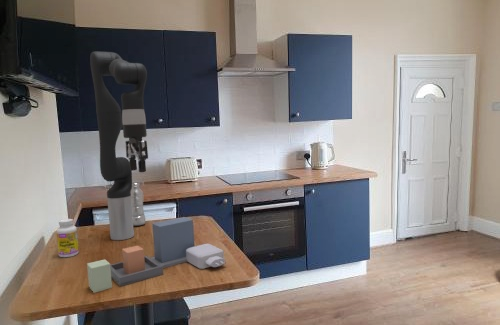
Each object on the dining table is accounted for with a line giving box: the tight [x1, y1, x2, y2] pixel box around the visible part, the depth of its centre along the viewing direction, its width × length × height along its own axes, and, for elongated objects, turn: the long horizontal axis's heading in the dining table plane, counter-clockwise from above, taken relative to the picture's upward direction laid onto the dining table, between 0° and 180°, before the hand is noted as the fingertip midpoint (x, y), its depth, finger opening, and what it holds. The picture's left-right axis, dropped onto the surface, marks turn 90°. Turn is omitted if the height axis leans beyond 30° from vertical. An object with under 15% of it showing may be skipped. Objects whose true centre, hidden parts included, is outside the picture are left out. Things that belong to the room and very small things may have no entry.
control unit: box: [150, 216, 196, 269], centre depth 126 cm, size 10×14×13 cm
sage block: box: [86, 258, 113, 294], centre depth 106 cm, size 5×5×7 cm
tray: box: [110, 255, 164, 288], centre depth 116 cm, size 13×13×2 cm
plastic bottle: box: [131, 181, 146, 227], centre depth 173 cm, size 6×7×20 cm
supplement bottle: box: [56, 218, 79, 258], centre depth 136 cm, size 7×7×13 cm
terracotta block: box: [121, 245, 145, 274], centre depth 115 cm, size 5×5×7 cm
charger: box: [186, 243, 227, 270], centre depth 120 cm, size 5×9×15 cm
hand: (137, 171), depth 128 cm, fingers open, 8 cm apart
